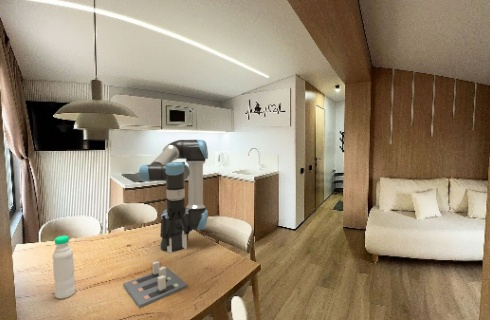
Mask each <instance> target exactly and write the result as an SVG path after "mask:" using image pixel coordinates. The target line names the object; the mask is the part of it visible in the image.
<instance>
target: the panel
mask: <svg viewBox="0 0 490 320" xmlns="http://www.w3.org/2000/svg"><path fill="white" fill-rule="evenodd" d="M152 273H153V272H151V273H149V274H146V275H144V276H140V277H138V278H135V279H132V280H129V281H126V282H124V283H123V284H122V286H123V288H124V289H125V291H126V292H127V294H128V295H129V296H130V298H131V299H132V300H133V302H134V303H135V305H136V306H137V307H138V308H139V309H141V308H143V307H146V306H148V305H150V304H153V303H155V302H157V301H159V300H162V299H164V298H166V297H168V296H171V295H173V294H175V293H177V292H180V291H183V290H184V289H187V288H188V287H189V286H188V284H187V282H185V281H184V280H183V279H182V278H181V277H179V276H178V275H177V274H176V273H174V272H173V270H171V269H170V268H169V267H166V278H167V281H166V291H164V292H161V293H159V292H158V291H157V289H158V278H157V277H159V275H157V276H155V277H154V276H153V275H152Z"/></svg>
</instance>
